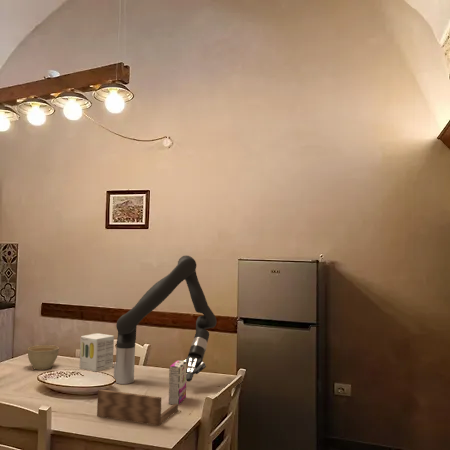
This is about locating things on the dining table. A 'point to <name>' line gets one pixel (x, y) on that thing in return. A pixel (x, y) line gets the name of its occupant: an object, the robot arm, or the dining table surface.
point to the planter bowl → (42, 356)
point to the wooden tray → (132, 407)
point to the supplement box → (96, 352)
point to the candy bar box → (177, 382)
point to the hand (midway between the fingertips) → (188, 380)
